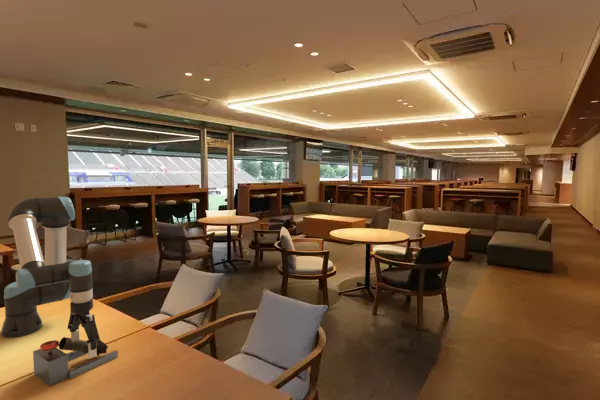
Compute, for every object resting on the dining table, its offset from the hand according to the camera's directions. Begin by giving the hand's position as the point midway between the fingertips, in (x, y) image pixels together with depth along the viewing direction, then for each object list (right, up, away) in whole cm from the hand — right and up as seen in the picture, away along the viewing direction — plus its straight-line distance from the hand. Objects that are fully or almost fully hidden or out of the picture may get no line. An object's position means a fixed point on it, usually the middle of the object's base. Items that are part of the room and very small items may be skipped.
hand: (83, 351), depth 137 cm
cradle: (-1, -4, -2) cm, 5 cm away
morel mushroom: (0, 0, -1) cm, 1 cm away
